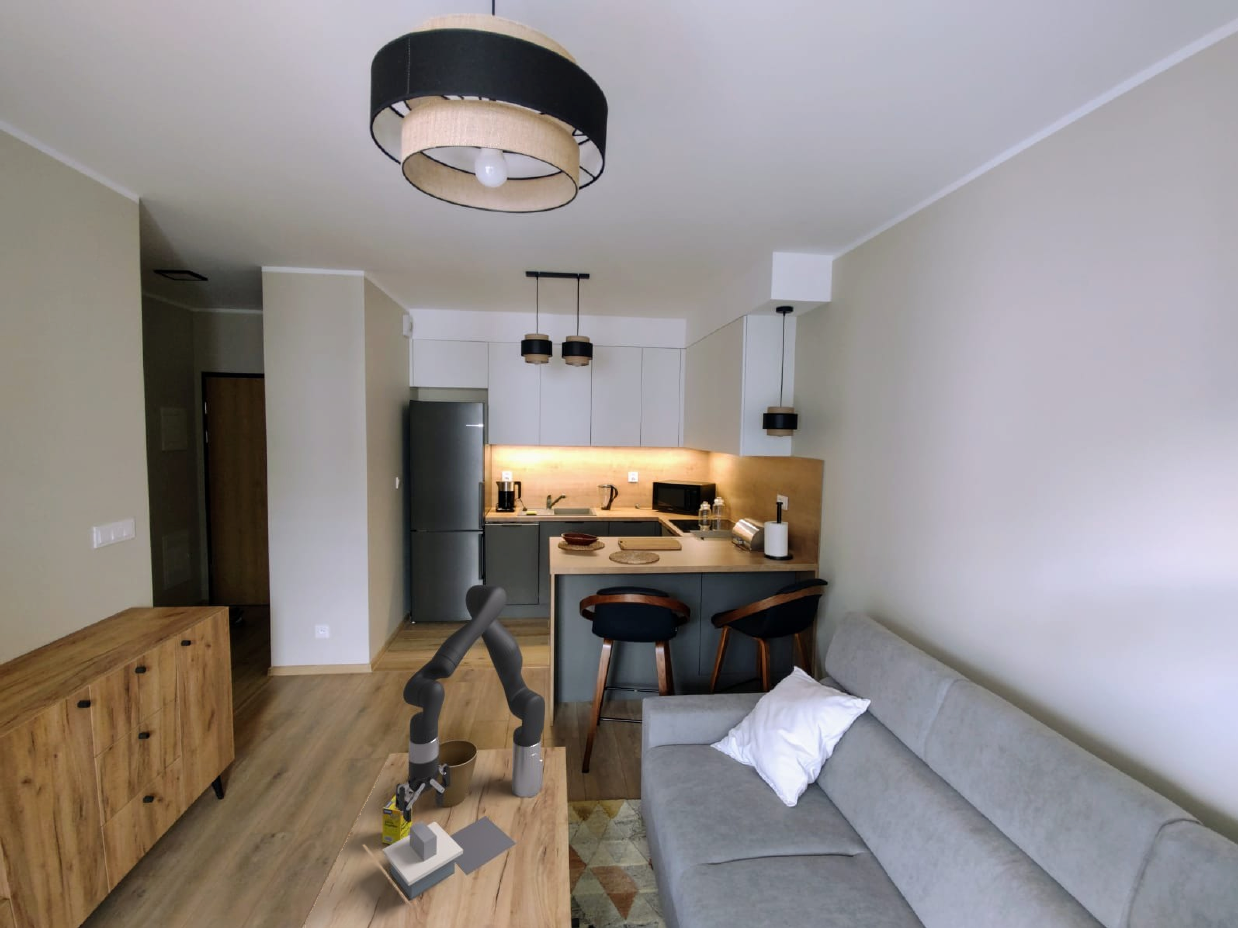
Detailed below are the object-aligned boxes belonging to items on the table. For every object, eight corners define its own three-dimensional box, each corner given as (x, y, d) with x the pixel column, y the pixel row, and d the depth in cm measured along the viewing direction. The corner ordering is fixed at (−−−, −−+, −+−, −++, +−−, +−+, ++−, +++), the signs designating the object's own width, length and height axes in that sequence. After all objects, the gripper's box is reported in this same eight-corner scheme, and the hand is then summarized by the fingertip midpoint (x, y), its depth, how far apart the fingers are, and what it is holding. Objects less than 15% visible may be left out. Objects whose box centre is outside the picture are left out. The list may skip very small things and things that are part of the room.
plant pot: (425, 819, 166) (426, 768, 165) (430, 788, 180) (431, 741, 179) (476, 813, 169) (477, 763, 168) (477, 783, 184) (477, 737, 183)
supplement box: (400, 848, 154) (400, 811, 153) (381, 845, 155) (381, 807, 154) (412, 833, 160) (412, 797, 159) (394, 830, 161) (394, 794, 160)
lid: (435, 824, 155) (435, 804, 155) (463, 853, 145) (463, 831, 145) (382, 852, 144) (382, 831, 144) (408, 885, 134) (409, 862, 134)
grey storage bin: (432, 850, 153) (432, 830, 153) (454, 874, 145) (454, 853, 145) (390, 874, 145) (390, 852, 144) (411, 901, 137) (411, 879, 136)
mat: (485, 817, 167) (485, 815, 167) (516, 845, 156) (516, 843, 156) (437, 844, 156) (437, 842, 156) (467, 877, 145) (467, 874, 145)
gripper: (441, 737, 151) (441, 793, 152) (390, 758, 141) (390, 819, 141) (455, 748, 146) (455, 806, 147) (404, 771, 135) (404, 834, 136)
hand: (423, 812), depth 144 cm, fingers open, 8 cm apart
